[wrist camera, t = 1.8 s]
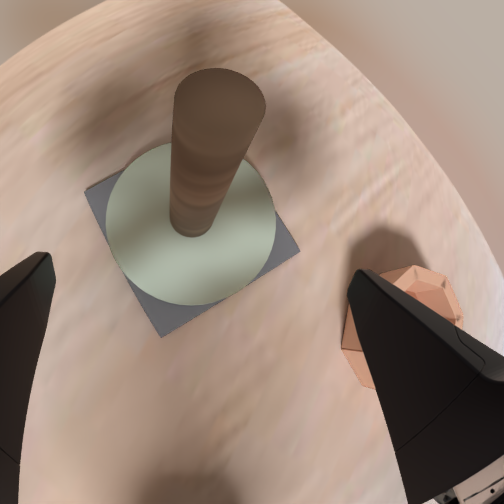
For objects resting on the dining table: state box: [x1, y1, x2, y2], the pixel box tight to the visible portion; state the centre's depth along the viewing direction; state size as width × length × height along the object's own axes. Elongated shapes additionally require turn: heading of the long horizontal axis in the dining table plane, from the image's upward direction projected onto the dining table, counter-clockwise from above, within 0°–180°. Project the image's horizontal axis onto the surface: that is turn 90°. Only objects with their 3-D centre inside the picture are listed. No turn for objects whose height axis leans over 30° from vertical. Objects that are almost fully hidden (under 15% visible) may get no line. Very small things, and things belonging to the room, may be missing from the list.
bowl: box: [341, 265, 463, 390], centre depth 21 cm, size 9×9×4 cm
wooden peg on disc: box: [106, 68, 276, 306], centre depth 15 cm, size 11×11×12 cm
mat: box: [84, 170, 300, 338], centre depth 21 cm, size 11×11×1 cm
